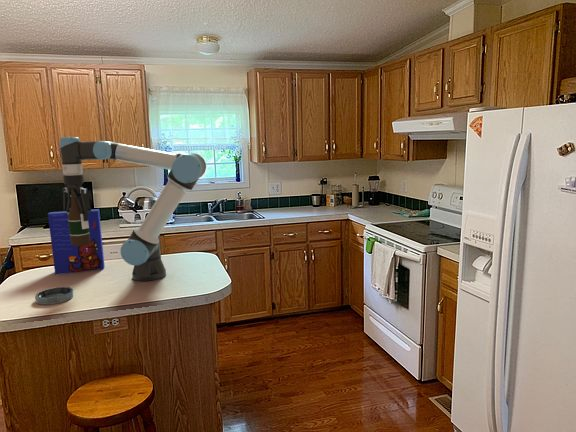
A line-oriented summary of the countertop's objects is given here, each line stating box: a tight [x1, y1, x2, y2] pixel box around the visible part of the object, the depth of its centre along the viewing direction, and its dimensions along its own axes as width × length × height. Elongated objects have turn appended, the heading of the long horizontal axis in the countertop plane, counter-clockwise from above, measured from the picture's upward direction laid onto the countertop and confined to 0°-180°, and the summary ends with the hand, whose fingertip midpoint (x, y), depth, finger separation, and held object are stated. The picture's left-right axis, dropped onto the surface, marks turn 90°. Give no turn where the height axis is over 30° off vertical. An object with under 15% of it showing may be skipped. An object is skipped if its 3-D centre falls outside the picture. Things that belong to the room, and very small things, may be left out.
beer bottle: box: [68, 189, 90, 246], centre depth 180 cm, size 8×8×24 cm
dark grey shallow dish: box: [34, 286, 74, 306], centre depth 173 cm, size 13×13×3 cm
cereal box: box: [47, 208, 105, 275], centre depth 210 cm, size 22×6×30 cm, turn 109°
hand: (79, 227), depth 181 cm, fingers closed on beer bottle, 8 cm apart
